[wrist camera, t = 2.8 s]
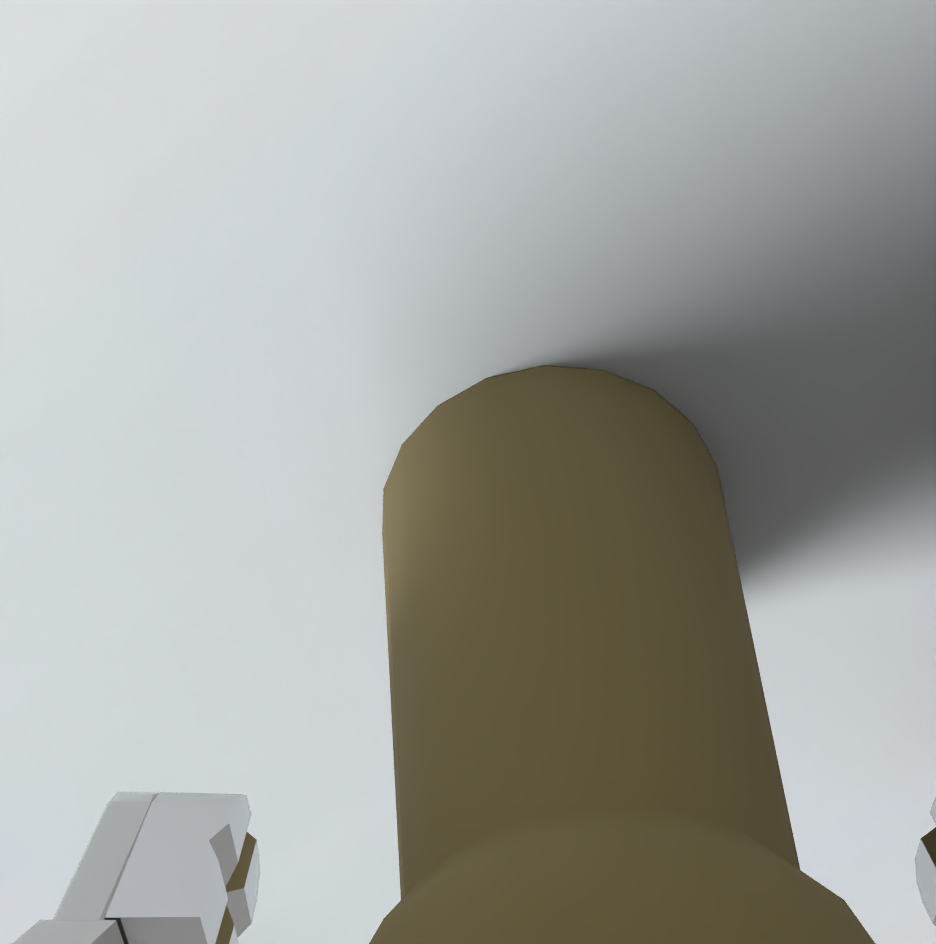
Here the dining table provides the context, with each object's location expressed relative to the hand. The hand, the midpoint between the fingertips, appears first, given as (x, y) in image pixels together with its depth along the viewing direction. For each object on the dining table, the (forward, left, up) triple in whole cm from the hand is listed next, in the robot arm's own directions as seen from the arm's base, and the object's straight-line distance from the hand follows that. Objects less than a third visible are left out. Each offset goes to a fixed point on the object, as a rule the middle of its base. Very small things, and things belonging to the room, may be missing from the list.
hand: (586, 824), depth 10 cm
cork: (0, 0, -6) cm, 6 cm away
